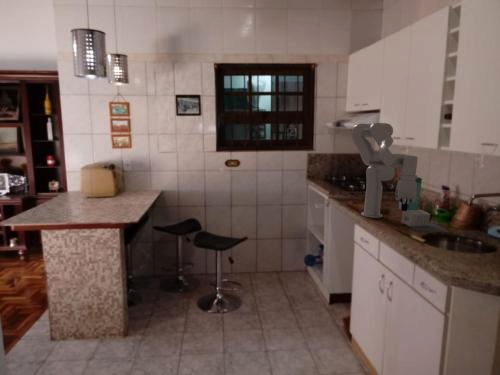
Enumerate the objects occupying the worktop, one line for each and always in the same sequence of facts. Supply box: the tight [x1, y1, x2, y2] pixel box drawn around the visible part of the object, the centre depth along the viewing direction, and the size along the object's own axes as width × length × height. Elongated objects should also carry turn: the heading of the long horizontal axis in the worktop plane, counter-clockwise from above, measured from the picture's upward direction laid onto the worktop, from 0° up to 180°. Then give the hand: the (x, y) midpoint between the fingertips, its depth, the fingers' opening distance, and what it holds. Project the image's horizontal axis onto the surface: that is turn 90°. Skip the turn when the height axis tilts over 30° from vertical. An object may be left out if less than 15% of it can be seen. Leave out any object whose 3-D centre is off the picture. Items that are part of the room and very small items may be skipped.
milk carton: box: [397, 174, 423, 211], centre depth 246 cm, size 9×9×25 cm
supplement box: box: [400, 209, 431, 227], centre depth 205 cm, size 7×7×13 cm
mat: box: [406, 222, 450, 234], centre depth 202 cm, size 18×18×1 cm
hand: (403, 210), depth 201 cm, fingers closed
